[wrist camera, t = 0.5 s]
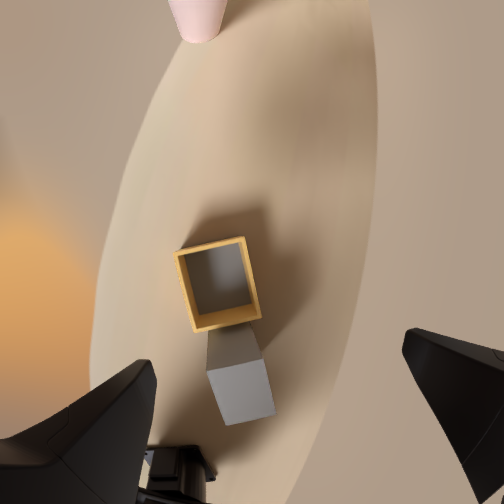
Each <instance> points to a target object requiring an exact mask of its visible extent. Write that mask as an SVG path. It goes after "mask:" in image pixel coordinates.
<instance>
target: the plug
mask: <svg viewBox="0 0 504 504" xmlns="http://www.w3.org/2000/svg"><path fill="white" fill-rule="evenodd" d="M206 372H207V375H208V378H209V381H210V384H211V387H212V390H213V393H214V395H215V398H216V401H217V404H218V406H219V409H220V412H221V414H222V417H223V420H224V422H225V425H226V426H227V425H232V424H237V423H242V422H247V421H252V420H256V419H260V418H264V417H268V416H272V415H276V410H275V405H274V401H273V397H272V393H271V389H270V384H269V380H268V376H267V372H266V367H265V363H264V359H263V356H262V354H261V351H260V348H259V346H258V343H257V340H256V338H255V335H254V332H253V330H252V327H251V324H250V322H249V321H247V322H243V323H239V324H234V325H230V326H225V327H221V328H216V329H212V330H209V332H208V348H207V365H206Z"/></svg>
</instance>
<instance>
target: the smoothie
mask: <svg viewBox="0 0 504 504" xmlns="http://www.w3.org/2000/svg"><path fill="white" fill-rule="evenodd" d="M168 2H169V5H170V8H171V11H172V13H173V16H174V18H175V21H176V24H177V26H178V29H179V32H180V34H181V37H182V38H183V39H184V40H186V41H188V42H192V43H203V42H207V41H210V40H212V39H213V38H215V37H216V36H217V35H218V33H219V30H220V26H221V23H222V19H223V15H224V12H225V8H226V5H227V2H228V0H168Z"/></svg>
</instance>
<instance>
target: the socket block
mask: <svg viewBox="0 0 504 504" xmlns="http://www.w3.org/2000/svg"><path fill="white" fill-rule="evenodd" d="M173 256H174V260H175V265H176V269H177V273H178V277H179V281H180V285H181V289H182V292H183V296H184V300H185V304H186V307H187V311H188V314H189V318H190V321H191V325H192V328H193V332H194V333H197V332H202V331H207V330H212V329H216V328H221V327H225V326H230V325H234V324H239V323H243V322H247V321H251V320H256V319H260V318H262V315H261V310H260V306H259V301H258V297H257V292H256V287H255V283H254V278H253V274H252V269H251V264H250V260H249V255H248V250H247V246H246V241H245V237H243V236H237V237H232V238H228V239H223V240H219V241H214V242H210V243H205V244H201V245H196V246H192V247H188V248H183V249H180V250H178V251H176V252H174V253H173Z"/></svg>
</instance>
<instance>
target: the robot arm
mask: <svg viewBox="0 0 504 504" xmlns="http://www.w3.org/2000/svg"><path fill="white" fill-rule="evenodd" d="M402 353H403V356H404V358H405V360H406V362H407V364H408V366H409V368H410V371H411V373H412V375H413V377H414V379H415V381H416V383H417V385H418V387H419V388H420V390H421V392H422V394H423V395H424V397H425V399H426V400H427V402H428V404H429V406H430V407H431V409H432V411H433V412H434V414H435V416H436V418H437V419H438V421H439V423H440V425H441V427H442V428H443V430H444V432H445V434H446V436H447V438H448V440H449V441H450V443H451V445H452V447H453V449H454V451H455V453H456V455H457V457H458V459H459V461H460V463H461V464H462V468H463V470H464V472H465V474H466V476H467V478H468V480H469V482H470V485H471V487H472V489H473V491H474V494H475V496H476V498H477V501H478V503H479V504H482V503H483V502H485V501H486V500H487V499H488V498H489V497H491V496H492V495H493V494H494V493H495V492H497V491H498V490H499V489H500V488H501V487H502V486H503V485H504V351H499V350H496V349H491V348H488V347H484V346H480V345H477V344H473V343H469V342H466V341H462V340H458V339H454V338H451V337H448V336H443V335H440V334H437V333H433V332H430V331H426V330H423V329H419V328H413V329H409V330H407V331H406V333H405V338H404V342H403V346H402ZM156 388H157V379H156V376H155V373H154V369H153V366H152V363H151V361H150V360H148V359H138V360H136V361H135V362H134V363H132V364H131V365H129V366H128V367H126V368H125V369H123V370H122V371H120V372H119V373H117V374H116V375H114V376H113V377H111V378H110V379H108V380H107V381H105V382H104V383H102V384H101V385H99V386H98V387H96V388H95V389H93V390H92V391H90V392H89V393H87V394H86V395H84V396H83V397H81V398H80V399H78V400H77V401H75V402H74V403H72V404H70V405H69V406H68V407H66V408H64V409H63V410H61V411H59V412H58V413H56V414H54V415H53V416H51V417H50V418H48V419H46V420H44V421H42V422H40V423H38V424H36V425H34V426H32V427H30V428H28V429H26V430H24V431H22V432H20V433H18V434H16V435H14V436H12V437H9V438H5V439H0V504H211V503H206V482H211V481H215V480H216V476H215V474H214V473H213V471H212V469H211V467H210V466H209V464H208V462H207V460H206V458H205V456H204V454H203V453H202V451H201V449H200V447H199V446H197V445H190V446H180V447H167V448H146V447H147V442H148V438H149V434H150V429H151V425H152V420H153V412H154V404H155V396H156ZM194 449H196V450H194ZM145 452H146V453H145ZM144 459H145V460H146V461H147V463H148V464H149V466H150V469H149V474H148V476H149V477H148V482H147V487H146V489H145V488H141V487H139V486H138V485H139V480H140V475H141V470H142V465H143V460H144ZM501 504H504V495H503V498H502V502H501Z"/></svg>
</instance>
